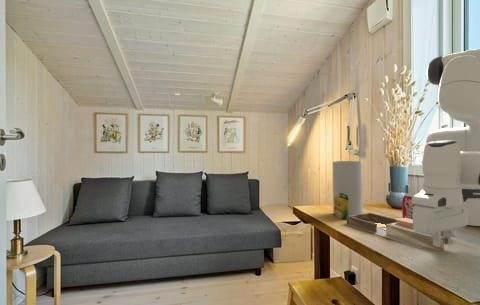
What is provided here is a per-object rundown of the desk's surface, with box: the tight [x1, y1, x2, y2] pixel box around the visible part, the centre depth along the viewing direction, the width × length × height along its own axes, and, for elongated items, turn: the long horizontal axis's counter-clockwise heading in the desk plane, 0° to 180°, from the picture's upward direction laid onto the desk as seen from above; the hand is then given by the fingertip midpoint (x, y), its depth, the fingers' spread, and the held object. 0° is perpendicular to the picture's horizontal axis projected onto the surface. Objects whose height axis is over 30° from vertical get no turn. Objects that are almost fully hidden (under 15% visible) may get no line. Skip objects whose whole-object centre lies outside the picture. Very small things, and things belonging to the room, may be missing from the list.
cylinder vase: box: [332, 160, 364, 216], centre depth 119 cm, size 12×12×25 cm
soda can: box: [401, 193, 417, 219], centre depth 104 cm, size 7×7×12 cm
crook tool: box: [386, 222, 445, 252], centre depth 82 cm, size 8×16×4 cm, turn 26°
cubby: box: [346, 211, 397, 234], centre depth 98 cm, size 13×12×3 cm
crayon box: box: [333, 193, 349, 221], centre depth 111 cm, size 7×3×12 cm, turn 6°
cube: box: [396, 217, 414, 229], centre depth 87 cm, size 5×5×5 cm
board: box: [346, 221, 457, 249], centre depth 92 cm, size 19×28×2 cm
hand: (442, 244), depth 74 cm, fingers closed on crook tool, 2 cm apart
